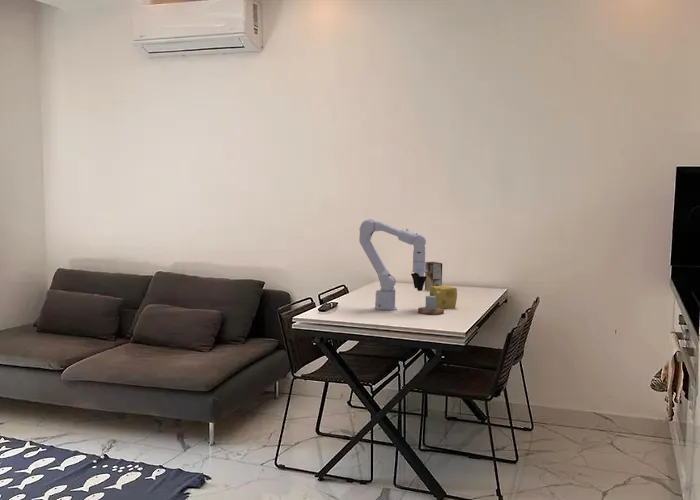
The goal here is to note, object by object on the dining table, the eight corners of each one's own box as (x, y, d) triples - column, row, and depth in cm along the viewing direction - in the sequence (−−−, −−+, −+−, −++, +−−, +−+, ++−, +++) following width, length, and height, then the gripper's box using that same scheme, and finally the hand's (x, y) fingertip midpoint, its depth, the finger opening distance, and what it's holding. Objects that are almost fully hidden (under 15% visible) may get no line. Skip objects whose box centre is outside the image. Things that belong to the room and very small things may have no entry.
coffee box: (442, 291, 377) (443, 263, 375) (432, 292, 374) (433, 263, 372) (433, 289, 385) (434, 261, 383) (424, 289, 382) (424, 261, 381)
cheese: (436, 309, 323) (437, 288, 322) (428, 305, 333) (429, 285, 332) (456, 308, 326) (457, 288, 325) (447, 304, 336) (448, 284, 335)
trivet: (420, 314, 307) (420, 311, 307) (415, 310, 319) (415, 306, 319) (446, 314, 308) (446, 311, 308) (440, 310, 320) (440, 306, 320)
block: (427, 310, 311) (427, 297, 311) (425, 308, 315) (425, 295, 315) (435, 310, 312) (436, 297, 311) (433, 308, 316) (434, 295, 315)
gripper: (430, 262, 310) (429, 291, 311) (424, 259, 324) (423, 287, 326) (415, 262, 309) (414, 291, 311) (409, 259, 324) (409, 287, 325)
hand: (418, 289), depth 318 cm, fingers open, 7 cm apart
